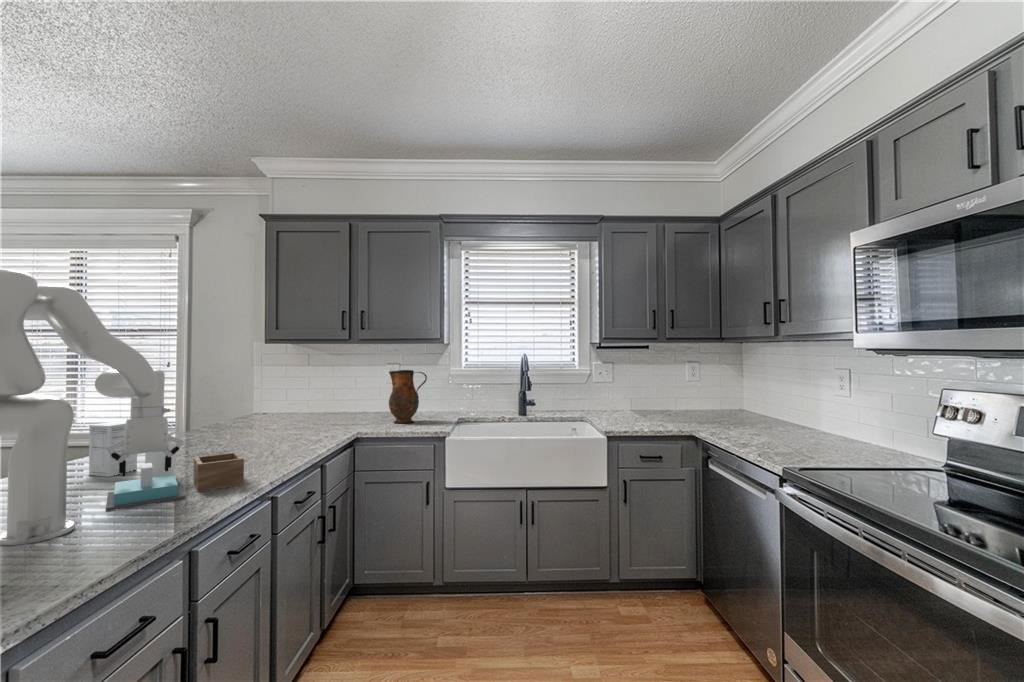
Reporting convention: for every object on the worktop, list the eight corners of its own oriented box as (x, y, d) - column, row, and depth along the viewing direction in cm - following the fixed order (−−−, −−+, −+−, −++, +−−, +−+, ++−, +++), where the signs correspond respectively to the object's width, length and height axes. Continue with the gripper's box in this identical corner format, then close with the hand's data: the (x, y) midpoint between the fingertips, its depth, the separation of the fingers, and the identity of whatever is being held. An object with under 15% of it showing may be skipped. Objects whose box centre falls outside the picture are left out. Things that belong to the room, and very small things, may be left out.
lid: (177, 495, 134) (178, 467, 134) (113, 505, 125) (114, 475, 125) (174, 484, 145) (174, 458, 145) (115, 492, 136) (115, 464, 136)
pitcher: (389, 420, 277) (390, 369, 278) (426, 420, 281) (426, 369, 281) (387, 425, 261) (387, 370, 261) (426, 424, 265) (426, 370, 265)
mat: (184, 498, 134) (185, 495, 134) (105, 511, 123) (105, 508, 123) (180, 484, 147) (180, 482, 147) (108, 495, 136) (108, 492, 136)
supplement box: (138, 470, 163) (138, 421, 164) (109, 477, 155) (110, 425, 155) (116, 468, 166) (117, 420, 166) (87, 475, 157) (88, 424, 157)
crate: (243, 484, 148) (244, 458, 148) (197, 491, 140) (198, 464, 140) (236, 476, 157) (237, 452, 157) (193, 482, 149) (193, 457, 150)
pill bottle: (159, 484, 147) (160, 435, 148) (138, 482, 149) (138, 434, 149) (181, 477, 155) (182, 431, 155) (161, 475, 157) (162, 430, 157)
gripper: (182, 409, 143) (181, 466, 143) (108, 413, 133) (106, 475, 132) (185, 411, 138) (183, 471, 137) (107, 416, 127) (105, 480, 126)
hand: (145, 473), depth 135 cm, fingers open, 9 cm apart
